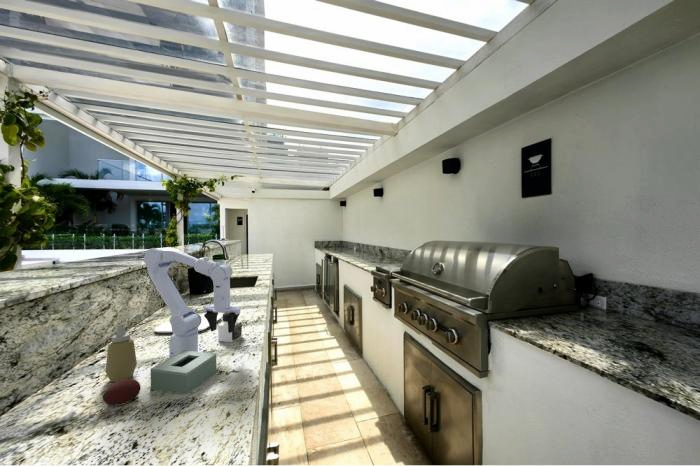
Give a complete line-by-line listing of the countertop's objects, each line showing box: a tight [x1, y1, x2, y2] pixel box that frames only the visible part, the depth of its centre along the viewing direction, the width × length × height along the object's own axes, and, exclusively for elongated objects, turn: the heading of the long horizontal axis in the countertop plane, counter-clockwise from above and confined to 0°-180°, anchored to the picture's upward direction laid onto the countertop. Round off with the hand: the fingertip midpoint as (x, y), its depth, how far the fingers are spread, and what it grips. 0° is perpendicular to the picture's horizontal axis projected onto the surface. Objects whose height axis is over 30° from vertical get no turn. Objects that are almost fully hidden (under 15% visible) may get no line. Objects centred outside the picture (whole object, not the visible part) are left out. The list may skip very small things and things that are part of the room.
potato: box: [102, 378, 141, 406], centre depth 78 cm, size 7×8×6 cm
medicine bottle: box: [217, 313, 243, 343], centre depth 123 cm, size 7×7×12 cm
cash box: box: [150, 350, 218, 395], centre depth 89 cm, size 13×13×6 cm
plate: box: [153, 314, 223, 334], centre depth 140 cm, size 25×25×2 cm
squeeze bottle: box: [105, 323, 138, 383], centre depth 91 cm, size 8×8×18 cm
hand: (222, 331), depth 106 cm, fingers open, 7 cm apart
